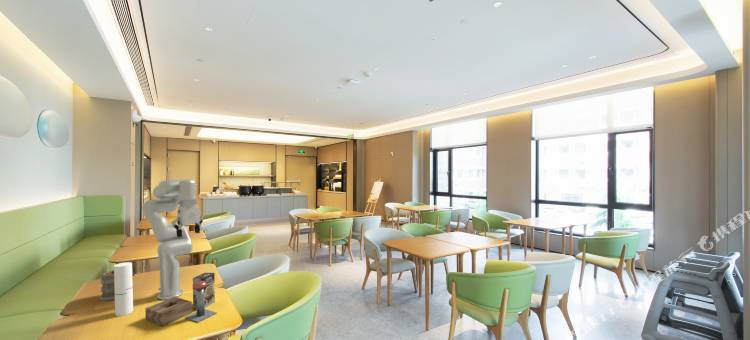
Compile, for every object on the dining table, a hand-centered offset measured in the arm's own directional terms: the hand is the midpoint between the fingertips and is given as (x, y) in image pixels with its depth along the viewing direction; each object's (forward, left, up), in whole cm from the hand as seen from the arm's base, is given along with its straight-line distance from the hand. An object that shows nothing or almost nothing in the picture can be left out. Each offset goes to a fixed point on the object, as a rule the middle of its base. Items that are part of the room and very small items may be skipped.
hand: (188, 234), depth 164 cm
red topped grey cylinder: (+16, -5, -38) cm, 41 cm away
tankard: (-50, -9, -38) cm, 64 cm away
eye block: (+2, -12, -38) cm, 40 cm away
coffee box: (+6, +4, -38) cm, 39 cm away
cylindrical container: (-24, -19, -38) cm, 49 cm away
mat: (+16, -5, -38) cm, 42 cm away
